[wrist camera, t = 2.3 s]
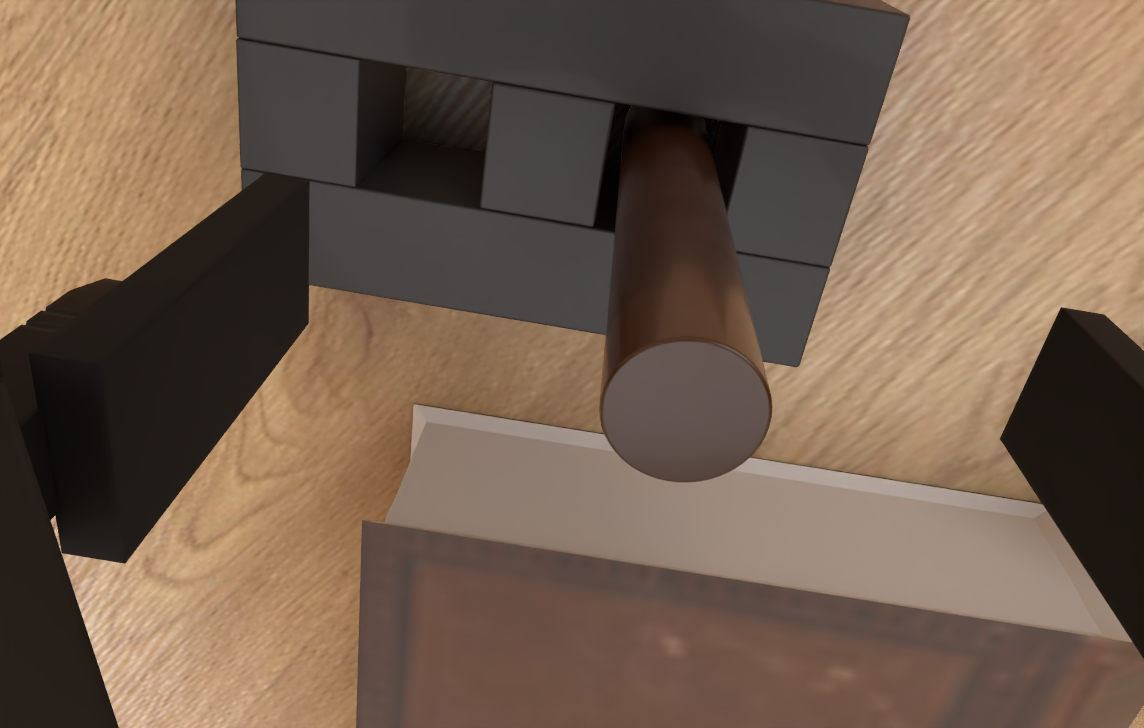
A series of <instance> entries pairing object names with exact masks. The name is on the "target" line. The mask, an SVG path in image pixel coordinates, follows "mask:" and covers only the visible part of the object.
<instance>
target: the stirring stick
mask: <svg viewBox="0 0 1144 728" xmlns="http://www.w3.org/2000/svg"><path fill="white" fill-rule="evenodd" d="M599 409H600V421H601V426H602V429H603V432H604V435H605V437H606V439H607V440H608V442H609V444H610V445H611V447H612V448H613V450H614V451H615V452H616V453H617V454H618V455H619V457H620V458H621V459H622V460H624V461H625V462H626V463H627V464H628V465H630V466H631V467H633V468H634V469H636V470H638V471H639V472H641V473H644V474H646V475H648V476H651V477H654V478H656V479H660V480H665V481H670V482H699V481H704V480H709V479H713V478H716V477H719V476H722V475H724V474H726V473H728V472H730V471H732V470H734V469H735V468H737V467H739V466H740V465H741V464H743V463H744V462H745V461H747V460H748V459H749V458H750V457H751V456H752V455H753V454H754V453H755V451H756V450H757V449H758V447H759V446H760V445H761V443H762V441H763V440H764V438H765V436H766V434H767V431H768V429H769V426H770V422H771V418H772V397H771V393H770V389H769V385H768V381H767V377H766V373H765V369H764V364H763V360H762V356H761V352H760V348H759V344H758V340H757V336H756V331H755V327H754V323H753V319H752V315H751V311H750V307H749V303H748V298H747V294H746V290H745V286H744V282H743V278H742V274H741V270H740V265H739V261H738V257H737V253H736V249H735V245H734V241H733V237H732V232H731V228H730V224H729V220H728V216H727V212H726V208H725V204H724V199H723V195H722V191H721V187H720V183H719V179H718V175H717V171H716V166H715V162H714V158H713V154H712V150H711V146H710V142H709V138H708V133H707V129H706V125H705V121H704V118H702V117H696V116H691V115H685V114H679V113H673V112H667V111H661V110H656V109H650V108H644V107H638V106H631V107H630V109H629V111H628V113H627V116H626V119H625V123H624V132H623V144H622V155H621V167H620V178H619V189H618V201H617V212H616V224H615V235H614V247H613V258H612V269H611V281H610V292H609V304H608V315H607V327H606V338H605V350H604V361H603V372H602V384H601V395H600V407H599Z"/></svg>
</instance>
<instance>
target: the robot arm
mask: <svg viewBox="0 0 1144 728" xmlns="http://www.w3.org/2000/svg"><path fill="white" fill-rule="evenodd" d="M309 194H310V180H304V179H298V178H292V177H286V176H280V175H274V174H268V173H265V174H263V175H262V176H261V177H259V178H258V179H257V180H255V181H254V182H253V183H251V184H250V185H249V186H247V187H246V188H245V189H244V190H242V191H241V192H240V193H238V194H237V195H236V196H234V197H233V198H232V199H230V200H229V201H228V202H226V203H225V204H224V205H222V206H221V207H220V208H218V209H217V210H216V211H215V212H213V213H212V214H211V215H209V216H208V217H207V218H205V219H204V220H203V221H201V222H200V223H199V224H197V225H196V226H195V227H193V228H192V229H191V230H189V231H188V232H187V233H186V234H184V235H183V236H182V237H180V238H179V239H178V240H176V241H175V242H174V243H172V244H171V245H170V246H168V247H167V248H166V249H164V250H163V251H162V252H160V253H159V254H158V255H157V256H155V257H154V258H153V259H151V260H150V261H149V262H147V263H146V264H145V265H143V266H142V267H141V268H139V269H138V270H137V271H135V272H134V273H133V274H131V275H130V276H129V277H128V278H126V279H125V280H124V281H118V280H112V279H106V278H105V279H102V280H99V281H96V282H93V283H90V284H87V285H85V286H82V287H79V288H76V289H73V290H70V291H69V292H67V293H66V294H64V295H63V296H62V297H60V298H59V299H57V300H56V301H54V302H53V303H52V304H50V305H49V306H47V307H46V311H40V312H39V313H37V314H36V315H35V316H33V317H32V318H30V319H29V320H27V323H26V325H20V326H19V327H18V328H16V329H15V330H13V331H12V332H10V333H9V334H8V335H6V336H5V337H3V338H2V339H1V340H0V728H119V727H118V724H117V721H116V718H115V715H114V712H113V709H112V706H111V703H110V700H109V697H108V694H107V691H106V688H105V685H104V681H103V678H102V675H101V672H100V669H99V666H98V663H97V660H96V657H95V654H94V651H93V648H92V645H91V642H90V639H89V636H88V633H87V630H86V627H85V624H84V621H83V618H82V615H81V612H80V609H79V606H78V603H77V600H76V597H75V593H74V590H73V587H72V584H71V581H70V578H69V575H68V572H67V569H66V566H65V563H64V560H63V557H62V554H61V551H62V553H64V554H70V555H76V556H83V557H89V558H95V559H101V560H107V561H113V562H119V563H126V562H127V561H128V559H129V558H130V557H131V555H132V554H133V553H134V551H135V550H136V549H137V547H138V546H139V545H140V543H141V542H142V541H143V540H144V538H145V537H146V536H147V534H148V533H149V532H150V530H151V529H152V528H153V526H154V525H155V524H156V523H157V521H158V520H159V519H160V517H161V516H162V515H163V513H164V512H165V511H166V509H167V508H168V507H169V506H170V504H171V503H172V502H173V500H174V499H175V498H176V496H177V495H178V494H179V492H180V491H181V490H182V488H183V487H184V486H185V485H186V483H187V482H188V481H189V479H190V478H191V477H192V475H193V474H194V473H195V471H196V470H197V469H198V468H199V466H200V465H201V464H202V462H203V461H204V460H205V458H206V457H207V456H208V454H209V453H210V452H211V450H212V449H213V448H214V447H215V445H216V444H217V443H218V441H219V440H220V439H221V437H222V436H223V435H224V433H225V432H226V431H227V430H228V428H229V427H230V426H231V424H232V423H233V422H234V420H235V419H236V418H237V416H238V415H239V414H240V412H241V411H242V410H243V409H244V407H245V406H246V405H247V403H248V402H249V401H250V399H251V398H252V397H253V395H254V394H255V393H256V392H257V390H258V389H259V388H260V386H261V385H262V384H263V382H264V381H265V380H266V378H267V377H268V376H269V375H270V373H271V372H272V371H273V369H274V368H275V367H276V365H277V364H278V363H279V361H280V360H281V359H282V357H283V356H284V355H285V354H286V352H287V351H288V350H289V348H290V347H291V346H292V344H293V343H294V342H295V340H296V339H297V338H298V337H299V335H300V334H301V333H302V331H303V330H304V329H305V327H306V326H307V325H308V323H309ZM1000 440H1001V441H1002V443H1003V444H1004V446H1005V447H1006V449H1007V450H1008V452H1009V453H1010V455H1011V456H1012V458H1013V460H1014V461H1015V463H1016V464H1017V466H1018V467H1019V469H1020V470H1021V472H1022V473H1023V475H1024V476H1025V478H1026V479H1027V481H1028V483H1029V484H1030V486H1031V487H1032V489H1033V490H1034V492H1035V493H1036V495H1037V496H1038V498H1039V499H1040V501H1041V502H1042V504H1043V506H1044V507H1045V509H1046V510H1047V512H1048V513H1049V515H1050V516H1051V518H1052V519H1053V521H1054V522H1055V524H1056V525H1057V527H1058V529H1059V530H1060V532H1061V533H1062V535H1063V536H1064V538H1065V539H1066V541H1067V542H1068V544H1069V545H1070V547H1071V548H1072V550H1073V552H1074V553H1075V555H1076V556H1077V558H1078V559H1079V561H1080V562H1081V564H1082V565H1083V567H1084V568H1085V570H1086V571H1087V573H1088V575H1089V576H1090V578H1091V579H1092V581H1093V582H1094V584H1095V585H1096V587H1097V588H1098V590H1099V591H1100V593H1101V594H1102V596H1103V598H1104V599H1105V601H1106V602H1107V604H1108V605H1109V607H1110V608H1111V610H1112V611H1113V613H1114V614H1115V616H1116V617H1117V619H1118V621H1119V622H1120V624H1121V625H1122V627H1123V628H1124V630H1125V631H1126V633H1127V634H1128V636H1129V637H1130V639H1131V640H1132V642H1133V644H1134V645H1135V647H1136V648H1137V650H1138V651H1139V653H1140V654H1141V656H1142V657H1143V659H1144V351H1143V350H1142V349H1141V348H1140V347H1139V346H1138V345H1137V344H1136V343H1135V342H1134V341H1132V340H1131V339H1130V338H1129V337H1128V336H1127V335H1126V334H1125V333H1124V332H1123V331H1122V330H1121V329H1119V328H1118V327H1117V326H1116V325H1115V324H1114V323H1113V322H1112V321H1111V320H1110V319H1109V318H1107V317H1106V316H1105V315H1103V314H1097V313H1091V312H1086V311H1080V310H1074V309H1068V308H1062V307H1061V309H1060V311H1059V313H1058V315H1057V317H1056V319H1055V321H1054V324H1053V326H1052V328H1051V330H1050V332H1049V334H1048V336H1047V339H1046V341H1045V343H1044V345H1043V347H1042V349H1041V352H1040V354H1039V356H1038V358H1037V360H1036V362H1035V364H1034V367H1033V369H1032V371H1031V373H1030V375H1029V377H1028V380H1027V382H1026V384H1025V386H1024V388H1023V390H1022V392H1021V395H1020V397H1019V399H1018V401H1017V403H1016V405H1015V407H1014V410H1013V412H1012V414H1011V416H1010V418H1009V420H1008V423H1007V425H1006V427H1005V429H1004V431H1003V433H1002V435H1001V438H1000ZM55 515H56V521H57V527H58V533H59V539H60V545H61V551H60V548H59V545H58V542H57V539H56V536H55V533H54V530H53V527H52V524H51V521H50V520H51V519H52V518H53V517H54V516H55Z"/></svg>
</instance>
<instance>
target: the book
mask: <svg viewBox="0 0 1144 728" xmlns="http://www.w3.org/2000/svg"><path fill="white" fill-rule="evenodd" d="M1143 705H1144V659H1143V657H1142V656H1141V654H1140V653H1139V651H1138V650H1137V648H1136V647H1135V645H1134V644H1133V642H1132V640H1131V639H1130V637H1129V636H1128V634H1127V633H1126V631H1125V630H1124V628H1123V627H1122V625H1121V624H1120V622H1119V621H1118V619H1117V617H1116V616H1115V614H1114V613H1113V611H1112V610H1111V608H1110V607H1109V605H1108V604H1107V602H1106V601H1105V599H1104V598H1103V596H1102V594H1101V593H1100V591H1099V590H1098V588H1097V587H1096V585H1095V584H1094V582H1093V581H1092V579H1091V578H1090V576H1089V575H1088V573H1087V571H1086V570H1085V568H1084V567H1083V565H1082V564H1081V562H1080V561H1079V559H1078V558H1077V556H1076V555H1075V553H1074V552H1073V550H1072V548H1071V547H1070V545H1069V544H1068V542H1067V541H1066V539H1065V538H1064V536H1063V535H1062V533H1061V532H1060V530H1059V529H1058V527H1057V525H1056V524H1055V522H1054V521H1053V519H1052V518H1051V516H1050V515H1049V513H1048V512H1047V510H1046V509H1045V507H1044V506H1043V504H1038V503H1032V502H1026V501H1019V500H1013V499H1007V498H1000V497H994V496H988V495H982V494H975V493H969V492H963V491H956V490H950V489H944V488H938V487H931V486H925V485H919V484H912V483H906V482H900V481H894V480H887V479H881V478H875V477H868V476H862V475H856V474H850V473H843V472H837V471H831V470H824V469H818V468H812V467H806V466H799V465H793V464H787V463H780V462H774V461H768V460H762V459H755V458H749V459H748V460H747V461H745V462H744V463H743V464H741V465H740V466H739V467H737V468H735V469H734V470H732V471H730V472H728V473H726V474H724V475H722V476H719V477H716V478H713V479H709V480H704V481H699V482H670V481H665V480H660V479H656V478H654V477H651V476H648V475H646V474H644V473H641V472H639V471H638V470H636V469H634V468H633V467H631V466H630V465H628V464H627V463H626V462H625V461H624V460H622V459H621V458H620V457H619V455H618V454H617V453H616V452H615V451H614V450H613V448H612V447H611V445H610V444H609V442H608V440H607V439H606V437H605V435H604V434H598V433H592V432H586V431H579V430H573V429H567V428H560V427H554V426H548V425H542V424H535V423H529V422H523V421H516V420H510V419H504V418H498V417H491V416H485V415H479V414H472V413H466V412H460V411H454V410H447V409H441V408H435V407H428V406H422V405H416V404H414V408H413V425H412V441H411V458H410V463H409V465H408V468H407V470H406V473H405V475H404V478H403V480H402V483H401V485H400V488H399V490H398V493H397V495H396V497H395V499H394V501H393V503H392V505H391V507H390V509H389V512H388V514H387V516H386V519H385V521H384V522H383V521H366V520H362V547H361V581H360V616H359V650H358V684H357V718H356V728H1128V727H1129V726H1130V725H1131V723H1132V722H1133V720H1134V719H1135V717H1136V716H1137V714H1138V713H1139V711H1140V710H1141V708H1142V707H1143Z"/></svg>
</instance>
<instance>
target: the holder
mask: <svg viewBox="0 0 1144 728" xmlns="http://www.w3.org/2000/svg"><path fill="white" fill-rule="evenodd" d="M909 21H910V16H909V15H908V14H906V13H904V12H902V11H900V10H898V9H896V8H894V7H892V6H890V5H888V4H887V3H885V2H883V1H881V0H236V26H237V37H239V38H238V39H237V40H236V45H237V74H238V103H239V131H240V160H241V168H242V170H241V179H242V190H244V189H245V188H246V187H247V186H249V185H250V184H251V183H253V182H254V181H255V180H257V179H258V178H259V177H261V176H262V175H263V174H265V173H268V174H274V175H280V176H286V177H292V178H298V179H304V180H310V194H309V285H313V286H319V287H325V288H331V289H337V290H343V291H348V292H354V293H360V294H366V295H372V296H378V297H384V298H390V299H396V300H402V301H408V302H414V303H420V304H425V305H431V306H437V307H443V308H449V309H455V310H461V311H467V312H473V313H479V314H485V315H491V316H496V317H502V318H508V319H514V320H520V321H526V322H532V323H538V324H544V325H550V326H556V327H562V328H568V329H573V330H579V331H585V332H591V333H597V334H603V335H606V327H607V315H608V304H609V292H610V281H611V269H612V258H613V247H614V235H615V224H616V212H617V201H618V189H619V178H620V176H619V175H613V174H607V173H604V168H605V162H606V156H607V150H608V144H609V139H610V133H611V127H612V121H613V115H614V110H615V103H621V104H626V105H632V106H638V107H644V108H650V109H656V110H661V111H667V112H673V113H679V114H685V115H691V116H696V117H702V118H708V119H714V120H720V121H721V125H720V129H719V133H718V138H717V142H716V146H715V150H714V155H713V158H714V162H715V166H716V171H717V175H718V179H719V183H720V187H721V191H722V195H723V199H724V204H725V208H726V212H727V216H728V220H729V224H730V228H731V232H732V237H733V241H734V245H735V249H736V253H737V257H738V261H739V265H740V270H741V274H742V278H743V282H744V286H745V290H746V294H747V298H748V303H749V307H750V311H751V315H752V319H753V323H754V327H755V331H756V336H757V340H758V344H759V348H760V352H761V356H762V360H763V362H769V363H775V364H781V365H787V366H793V367H798V366H799V365H800V362H801V359H802V355H803V352H804V349H805V346H806V343H807V340H808V337H809V334H810V330H811V327H812V324H813V321H814V318H815V315H816V312H817V309H818V305H819V302H820V299H821V296H822V293H823V290H824V287H825V284H826V280H827V277H828V274H829V271H830V268H829V267H830V266H831V265H832V262H833V258H834V255H835V252H836V249H837V246H838V243H839V240H840V237H841V233H842V230H843V227H844V224H845V221H846V218H847V215H848V212H849V209H850V205H851V202H852V199H853V196H854V193H855V190H856V187H857V184H858V180H859V177H860V174H861V171H862V168H863V165H864V162H865V159H866V155H867V152H868V146H867V145H869V144H870V142H871V139H872V136H873V133H874V130H875V127H876V124H877V120H878V117H879V114H880V111H881V108H882V105H883V102H884V99H885V95H886V92H887V89H888V86H889V83H890V80H891V77H892V74H893V70H894V67H895V64H896V61H897V58H898V55H899V52H900V49H901V45H902V42H903V39H904V36H905V33H906V30H907V27H908V24H909ZM406 67H410V68H416V69H422V70H428V71H434V72H440V73H445V74H451V75H457V76H463V77H469V78H475V79H480V80H486V81H492V82H494V83H493V84H492V91H491V100H490V110H489V120H488V129H487V139H486V149H485V153H484V152H478V151H472V150H467V149H461V148H455V147H449V146H443V145H437V144H431V143H426V142H420V141H414V140H408V139H402V134H403V116H404V98H405V81H406Z"/></svg>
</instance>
